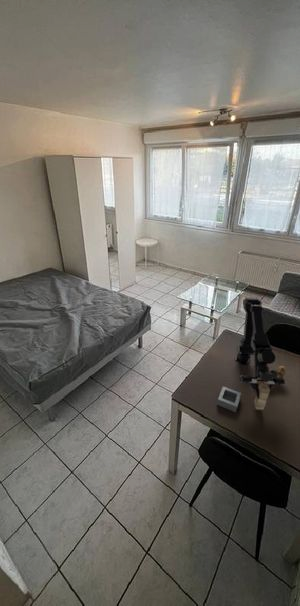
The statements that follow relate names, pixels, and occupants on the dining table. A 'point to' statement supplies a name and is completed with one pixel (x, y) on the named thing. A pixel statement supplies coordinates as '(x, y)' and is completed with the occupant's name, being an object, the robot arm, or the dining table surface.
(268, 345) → the robot arm
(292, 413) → the dining table surface
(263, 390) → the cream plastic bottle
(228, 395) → the end cap
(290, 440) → the dining table surface
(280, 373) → the lion figurine
